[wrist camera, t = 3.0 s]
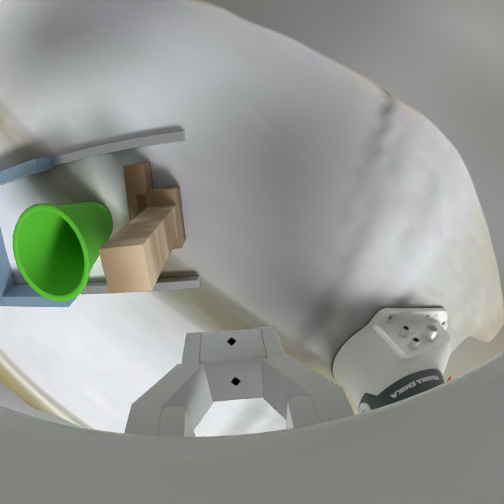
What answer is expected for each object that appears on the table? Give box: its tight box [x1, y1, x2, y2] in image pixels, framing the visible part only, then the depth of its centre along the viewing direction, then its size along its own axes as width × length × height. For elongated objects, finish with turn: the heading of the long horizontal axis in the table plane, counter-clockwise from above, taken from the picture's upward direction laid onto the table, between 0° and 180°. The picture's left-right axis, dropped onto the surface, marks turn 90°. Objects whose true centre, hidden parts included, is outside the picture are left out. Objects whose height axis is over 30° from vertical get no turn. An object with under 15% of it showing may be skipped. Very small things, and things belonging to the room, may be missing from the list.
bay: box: [0, 156, 77, 307], centre depth 27 cm, size 14×18×4 cm
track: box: [54, 131, 201, 294], centre depth 29 cm, size 16×18×1 cm
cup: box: [13, 201, 113, 301], centre depth 24 cm, size 9×9×11 cm
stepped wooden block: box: [99, 162, 186, 293], centre depth 23 cm, size 5×12×15 cm, turn 3°
